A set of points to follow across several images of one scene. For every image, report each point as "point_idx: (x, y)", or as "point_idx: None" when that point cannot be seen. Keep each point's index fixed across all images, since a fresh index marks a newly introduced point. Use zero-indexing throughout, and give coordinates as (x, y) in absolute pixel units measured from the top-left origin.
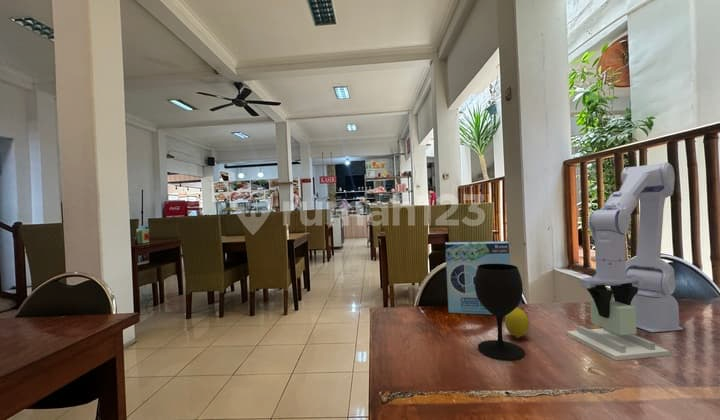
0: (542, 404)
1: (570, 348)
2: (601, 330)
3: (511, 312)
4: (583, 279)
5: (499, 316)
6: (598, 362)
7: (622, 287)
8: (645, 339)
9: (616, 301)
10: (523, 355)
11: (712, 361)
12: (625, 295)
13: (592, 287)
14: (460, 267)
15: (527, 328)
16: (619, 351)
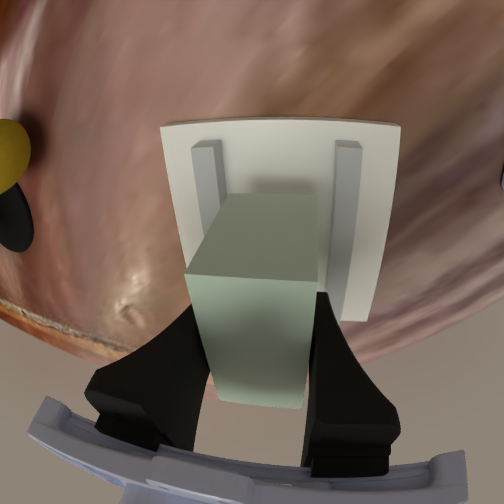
0: (52, 338)
1: (127, 223)
2: (321, 141)
3: None
4: (41, 444)
5: None
6: (156, 296)
7: (303, 462)
8: (341, 305)
9: (309, 351)
10: (29, 244)
11: (416, 341)
12: (306, 426)
13: (107, 418)
14: None
15: (17, 179)
16: None
